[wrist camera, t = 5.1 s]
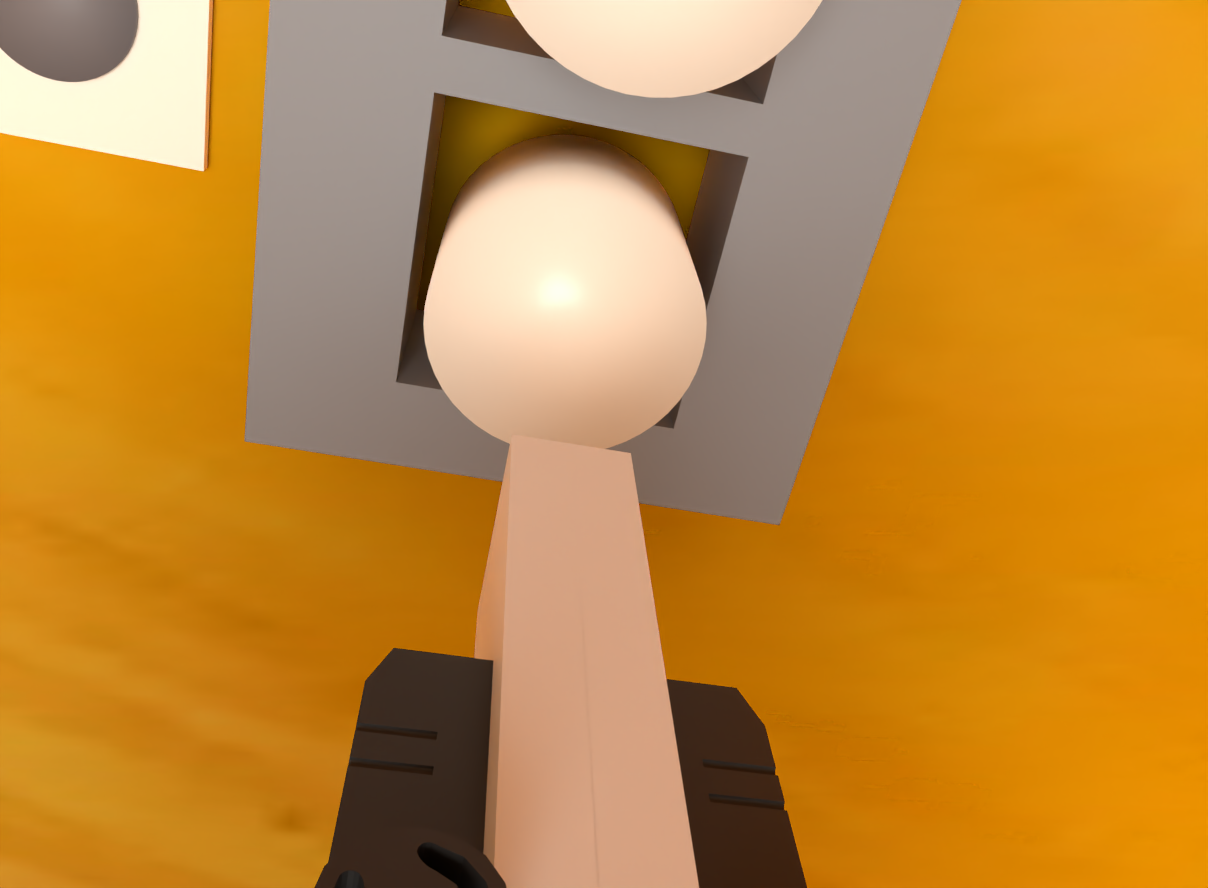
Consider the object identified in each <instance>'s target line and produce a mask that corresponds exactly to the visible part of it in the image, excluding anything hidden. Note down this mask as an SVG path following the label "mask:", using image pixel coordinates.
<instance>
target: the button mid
mask: <svg viewBox="0 0 1208 888" xmlns="http://www.w3.org/2000/svg"><path fill="white" fill-rule="evenodd" d="M506 1H507V3H508V5H509V7H510V8H511V10H512V12H513V14H514V15H515V17H516V18H517V19H518V21H519V22H520V23H521V25H522V26H523V27H524V29H525V30H526V31H527V33H528V34H529V35H530V36H531V37H532V38H533V39H534V40H535V41H536V43H537V44H538V45H539V46H540V47H541V48H542V49H543V50H544V51H545V52H546V53H547V54H549V55H550V56H551V57H552V58H554V59H555V60H556V61H557V62H559V63H560V64H561V65H562V66H564V67H565V68H567V69H568V70H570V71H572V72H573V73H575V74H577V75H578V76H580V77H582V78H583V79H585V80H588V81H590V82H592V83H594V84H597V85H599V86H601V87H604V88H606V89H610V90H613V91H617V92H620V93H624V94H628V95H635V96H642V97H649V98H673V97H681V96H688V95H695V94H699V93H703V92H706V91H710V90H714V89H717V88H720V87H722V86H725V85H727V84H729V83H732V82H734V81H737V80H739V79H741V78H742V77H744V76H746V75H748V74H749V73H751V72H753V71H754V70H756V69H758V68H760V67H761V66H762V65H763V64H765V63H766V62H767V61H769V60H770V59H771V58H773V57H774V56H775V55H777V54H778V53H779V52H780V51H781V50H782V49H783V48H784V47H785V46H786V45H787V44H789V43H790V42H791V41H792V40H793V39H794V38H795V37H796V36H797V34H798V33H799V32H800V31H801V30H802V28H803V27H804V26H805V25H806V23H807V22H808V21H809V20H810V19H811V17H812V16H813V14H814V13H815V11H816V10H817V8H818V7H819V5H820V3H821V2H822V0H506Z"/></svg>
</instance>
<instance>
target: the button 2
mask: <svg viewBox="0 0 1208 888" xmlns="http://www.w3.org/2000/svg"><path fill="white" fill-rule="evenodd" d="M423 325H424V338H425V345H426V349H427V354H428V358H429V361H430V364H431V366H432V369H433V372H434V374H435V376H436V378H437V380H438V382H439V384H440V385H441V387H442V389H443V390H444V392H445V393H446V395H447V396H448V397H449V399H450V400H451V402H452V403H453V404H454V405H455V406H456V407H457V408H458V409H459V410H460V411H461V413H462V414H463V415H464V416H466V417H467V418H468V419H469V420H470V421H472V422H473V423H474V424H475V425H476V426H478V427H479V428H481V429H482V430H484V431H486V432H487V433H489V434H490V435H492V436H494V437H496V438H498V439H500V440H502V441H504V442H506V443H509V444H510V441H511V436H512V434H513V435H519V436H526V437H532V438H538V439H545V440H551V441H557V442H564V443H570V444H576V445H583V446H589V447H595V448H602V449H606V448H610V447H613V446H615V445H618V444H621V443H623V442H626V441H628V440H630V439H632V438H634V437H636V436H638V435H640V434H641V433H643V432H644V431H646V430H647V429H649V428H650V427H652V426H653V425H655V424H656V423H657V422H658V421H660V420H661V419H662V418H663V417H664V416H665V415H667V414H668V413H669V412H670V410H671V409H672V408H673V407H674V406H675V405H676V404H677V403H678V402H679V400H680V399H681V398H682V396H683V395H684V393H685V392H686V390H687V389H688V387H689V386H690V384H691V382H692V380H693V378H694V376H695V374H696V372H697V369H698V367H699V364H700V361H701V358H702V355H703V350H704V345H705V340H706V326H707V320H706V307H705V301H704V297H703V292H702V288H701V285H700V282H699V279H698V276H697V273H696V270H695V267H694V264H693V261H692V258H691V255H690V252H689V249H688V246H687V243H686V240H685V237H684V234H683V231H682V228H681V225H680V222H679V219H678V217H677V214H676V211H675V209H674V206H673V203H672V202H671V200H670V198H669V196H668V194H667V192H666V190H665V189H664V188H663V186H662V185H661V183H660V182H659V181H658V179H657V178H656V177H655V176H654V175H653V174H652V173H651V172H650V171H649V170H648V169H647V167H646V166H644V165H643V164H642V163H641V162H639V161H638V160H637V159H636V158H634V157H633V156H632V155H630V154H628V153H627V152H625V151H623V150H621V149H620V148H618V147H616V146H613V145H611V144H608V143H606V142H604V141H600V140H597V139H593V138H589V137H584V136H577V135H549V136H541V137H536V138H532V139H528V140H525V141H521V142H519V143H517V144H514V145H512V146H510V147H507V148H505V149H504V150H502V151H500V152H499V153H497V154H495V155H494V156H492V157H491V158H490V159H488V160H487V161H486V162H485V163H483V164H482V165H481V166H480V167H479V168H478V169H477V170H476V171H475V172H474V173H473V174H472V175H471V176H470V177H469V179H468V180H467V181H466V183H465V184H464V185H463V187H462V188H461V190H460V191H459V193H458V195H457V197H456V199H455V201H454V203H453V205H452V207H451V210H450V213H449V216H448V219H447V222H446V226H445V230H444V233H443V237H442V241H441V244H440V248H439V252H438V255H437V259H436V263H435V267H434V270H433V274H432V278H431V281H430V285H429V289H428V293H427V298H426V302H425V308H424V323H423Z"/></svg>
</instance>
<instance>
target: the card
mask: <svg viewBox="0 0 1208 888" xmlns="http://www.w3.org/2000/svg"><path fill="white" fill-rule="evenodd" d="M212 19H213V0H0V133H5V134H10V135H16V136H21V137H26V138H31V139H37V140H42V141H47V142H52V143H58V144H63V145H68V146H74V147H79V148H84V149H89V150H95V151H100V152H105V153H110V154H116V155H121V156H126V157H131V158H137V159H142V160H147V161H153V162H158V163H163V164H168V165H174V166H179V167H184V168H189V169H195V170H200V171H204V170H205V169H206V168H207V166H208V136H209V107H210V77H211V48H212Z"/></svg>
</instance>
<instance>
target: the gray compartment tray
mask: <svg viewBox="0 0 1208 888" xmlns="http://www.w3.org/2000/svg"><path fill="white" fill-rule="evenodd" d="M960 3H961V0H822V2H821V3H820V5H819V7H818V8H817V10H816V11H815V13H814V14H813V16H812V17H811V19H810V20H809V21H808V22H807V23H806V25H805V26H804V27H803V28H802V30H801V31H800V32H799V33H798V34H797V36H796V37H795V38H794V39H793V40H792V41H791V42H790V43H789V44H787V45H786V46H785V47H784V48H783V49H782V50H781V51H780V52H779V53H778V54H777V55H775V56H774V57H773V58H771V59H770V60H769V61H767V62H766V63H765V64H763V65H762V66H761V67H760V68H758V69H756V70H754V71H753V72H751V73H749V74H748V75H746V76H744V77H742V78H741V79H739V80H737V81H734V82H732V83H729V84H727V85H725V86H722V87H720V88H717V89H714V90H710V91H706V92H703V93H699V94H695V95H688V96H681V97H673V98H649V97H642V96H635V95H628V94H624V93H620V92H617V91H613V90H610V89H606V88H604V87H601V86H599V85H597V84H594V83H592V82H590V81H588V80H585V79H583V78H582V77H580V76H578V75H577V74H575V73H573V72H572V71H570V70H568V69H567V68H565V67H564V66H562V65H561V64H560V63H559V62H557V61H556V60H555V59H554V58H552V57H551V56H550V55H549V54H547V53H546V52H545V51H544V50H543V49H542V48H541V47H540V46H539V45H538V44H537V43H536V41H535V40H534V39H533V38H532V37H531V36H530V35H529V34H528V33H527V31H526V30H525V29H524V27H523V26H522V25H521V23H520V22H519V21H518V19H517V18H514V17H510V16H505V15H500V14H496V13H491V12H487V11H482V10H477V9H473V8H468V7H464V6H459V5H458V4H459V0H270V11H269V28H268V46H267V63H266V80H265V97H264V115H263V132H262V149H261V167H260V184H259V201H258V219H257V236H256V253H255V270H254V288H253V305H252V322H251V340H250V357H249V374H248V391H247V409H246V426H245V441H246V442H253V443H259V444H266V445H272V446H278V447H285V448H291V449H297V450H304V451H310V452H317V453H323V454H329V455H336V456H342V457H348V458H355V459H361V460H368V461H374V462H380V463H387V464H393V465H399V466H406V467H412V468H419V469H425V470H431V471H438V472H444V473H451V474H457V475H463V476H470V477H476V478H482V479H489V480H495V481H502V482H503V477H504V472H505V467H506V462H507V456H508V451H509V446H510V444H509V443H506V442H504V441H502V440H500V439H498V438H496V437H494V436H492V435H490V434H489V433H487V432H486V431H484V430H482V429H481V428H479V427H478V426H476V425H475V424H474V423H473V422H472V421H470V420H469V419H468V418H467V417H466V416H464V415H463V414H462V413H461V411H460V410H459V409H458V408H457V407H456V406H455V405H454V404H453V403H452V402H451V400H450V399H449V397H448V396H447V395H446V393H445V392H444V390H443V389H442V387H441V385H440V384H439V382H438V380H437V378H436V376H435V374H434V372H433V369H432V366H431V364H430V361H429V358H428V354H427V349H426V345H425V338H424V325H423V323H424V310H418V309H417V304H418V297H419V290H420V282H421V275H422V268H423V260H424V253H425V246H426V238H427V231H428V224H429V216H430V209H431V202H432V195H433V187H434V180H435V173H436V165H437V158H438V151H439V143H440V136H441V129H442V121H443V114H444V107H445V99H446V95H449V96H454V97H459V98H464V99H469V100H473V101H478V102H483V103H488V104H493V105H498V106H503V107H508V108H512V109H517V110H522V111H527V112H532V113H537V114H542V115H546V116H551V117H556V118H561V119H566V120H571V121H576V122H580V123H585V124H590V125H595V126H600V127H605V128H610V129H614V130H619V131H624V132H629V133H634V134H639V135H644V136H648V137H653V138H658V139H663V140H668V141H673V142H678V143H682V144H687V145H692V146H697V147H702V148H707V149H710V151H709V155H708V159H707V163H706V167H705V171H704V174H703V178H702V182H701V186H700V190H699V194H698V198H697V202H696V205H695V209H694V213H693V217H692V221H691V225H690V229H689V233H688V237H687V240H686V243H687V246H688V249H689V252H690V255H691V258H692V261H693V264H694V267H695V270H696V273H697V276H698V279H699V282H700V285H701V288H702V292H703V297H704V301H705V307H706V320H707V326H706V340H705V345H704V350H703V355H702V358H701V361H700V364H699V367H698V369H697V372H696V374H695V376H694V378H693V380H692V382H691V384H690V386H689V387H688V389H687V390H686V392H685V393H684V395H683V396H682V398H681V399H680V400H679V402H678V403H677V404H676V405H675V406H674V407H673V408H672V409H671V410H670V412H669V413H668V414H667V415H665V416H664V417H663V418H662V419H661V420H660V421H658V422H657V423H656V424H655V425H653V426H652V427H650V428H649V429H647V430H646V431H644V432H643V433H641V434H640V435H638V436H636V437H634V438H632V439H630V440H628V441H626V442H623V443H621V444H618V445H615V446H613V447H610V448H606V449H608V450H614V451H621V452H627V453H631V457H632V464H633V470H634V476H635V483H636V489H637V495H638V502H639V503H642V504H648V505H655V506H661V507H667V508H674V509H680V510H686V511H693V512H699V513H706V514H712V515H718V516H725V517H731V518H737V519H744V520H750V521H757V522H763V523H769V524H776V525H780V522H781V519H782V516H783V513H784V510H785V508H786V505H787V502H788V499H789V496H790V493H791V490H792V487H793V485H794V482H795V479H796V476H797V473H798V470H799V467H800V464H801V461H802V459H803V456H804V453H805V450H806V447H807V444H808V441H809V438H810V435H811V433H812V430H813V427H814V424H815V421H816V418H817V415H818V412H819V410H820V407H821V404H822V401H823V398H824V395H825V392H826V389H827V386H828V384H829V381H830V378H831V375H832V372H833V369H834V366H835V363H836V361H837V358H838V355H839V352H840V349H841V346H842V343H843V340H844V337H845V335H846V332H847V329H848V326H849V323H850V320H851V317H852V314H853V311H854V309H855V306H856V303H857V300H858V297H859V294H860V291H861V288H862V286H863V283H864V280H865V277H866V274H867V271H868V268H869V265H870V262H871V260H872V257H873V254H874V251H875V248H876V245H877V242H878V239H879V237H880V234H881V231H882V228H883V225H884V222H885V219H886V216H887V213H888V211H889V208H890V205H891V202H892V199H893V196H894V193H895V190H896V187H897V185H898V182H899V179H900V176H901V173H902V170H903V167H904V164H905V162H906V159H907V156H908V153H909V150H910V147H911V144H912V141H913V138H914V136H915V133H916V130H917V127H918V124H919V121H920V118H921V115H922V113H923V110H924V107H925V104H926V101H927V98H928V95H929V92H930V89H931V87H932V84H933V81H934V78H935V75H936V72H937V69H938V66H939V63H940V61H941V58H942V55H943V52H944V49H945V46H946V43H947V40H948V38H949V35H950V32H951V29H952V26H953V23H954V20H955V17H956V14H957V12H958V9H959V6H960Z"/></svg>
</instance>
